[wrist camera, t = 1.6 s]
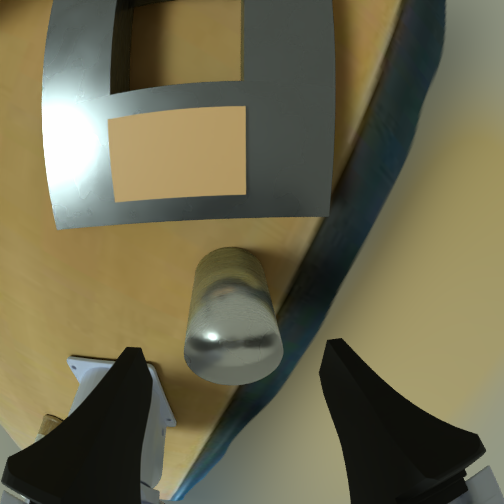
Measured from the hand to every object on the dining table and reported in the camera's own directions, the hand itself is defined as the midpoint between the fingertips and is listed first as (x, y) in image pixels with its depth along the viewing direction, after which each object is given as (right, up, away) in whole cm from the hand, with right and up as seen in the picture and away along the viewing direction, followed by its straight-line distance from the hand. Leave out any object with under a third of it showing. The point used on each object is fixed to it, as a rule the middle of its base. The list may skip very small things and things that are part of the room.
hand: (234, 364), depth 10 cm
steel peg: (-1, +3, +6) cm, 7 cm away
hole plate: (-3, +13, +1) cm, 13 cm away
